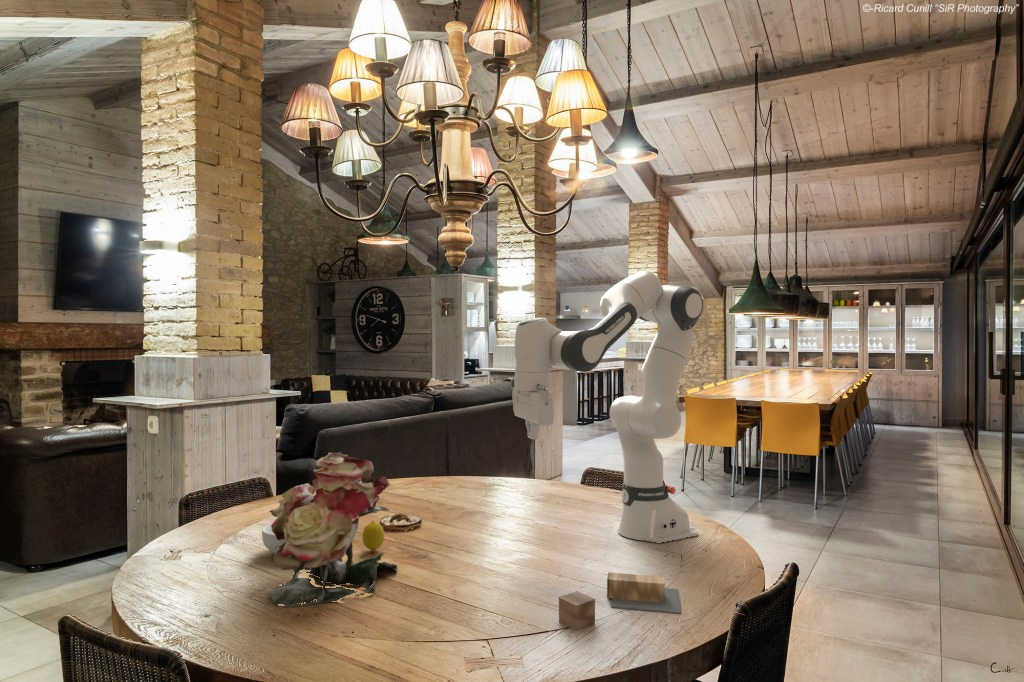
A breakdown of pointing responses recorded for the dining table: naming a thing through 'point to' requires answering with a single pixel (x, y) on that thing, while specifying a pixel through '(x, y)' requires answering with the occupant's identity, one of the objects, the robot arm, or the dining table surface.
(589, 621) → the walnut cube
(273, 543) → the cereal bowl
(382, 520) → the cream pie
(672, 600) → the felt mat
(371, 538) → the lemon
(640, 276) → the robot arm
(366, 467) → the rose bouquet
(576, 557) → the dining table surface
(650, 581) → the oak block
